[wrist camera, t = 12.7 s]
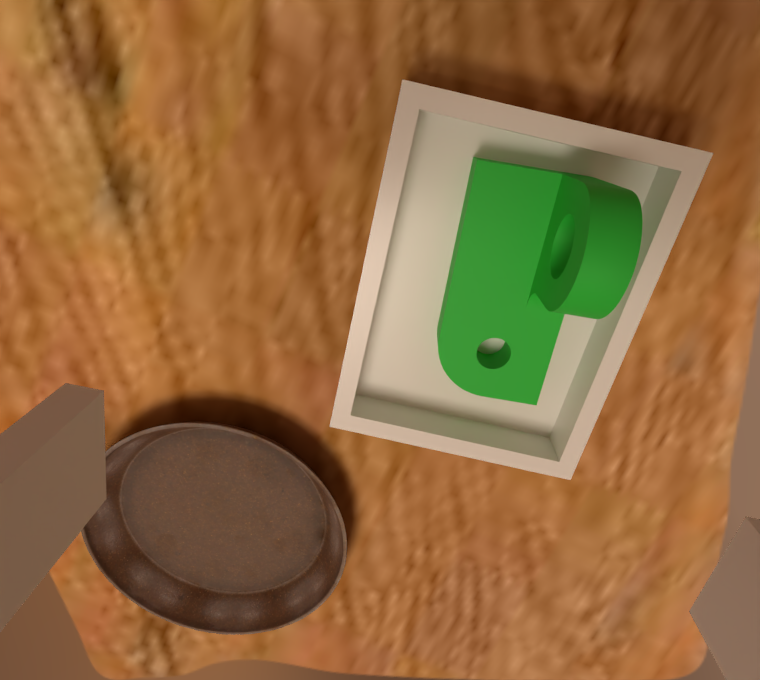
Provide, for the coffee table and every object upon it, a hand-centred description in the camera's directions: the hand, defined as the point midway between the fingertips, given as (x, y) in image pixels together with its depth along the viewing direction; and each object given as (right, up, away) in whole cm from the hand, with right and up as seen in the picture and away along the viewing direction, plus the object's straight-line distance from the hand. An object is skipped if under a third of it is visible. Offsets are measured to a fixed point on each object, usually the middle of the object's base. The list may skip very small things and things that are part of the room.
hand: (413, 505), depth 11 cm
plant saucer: (-11, -9, +27) cm, 30 cm away
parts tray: (+5, +6, +19) cm, 21 cm away
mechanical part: (+6, +7, +18) cm, 20 cm away
